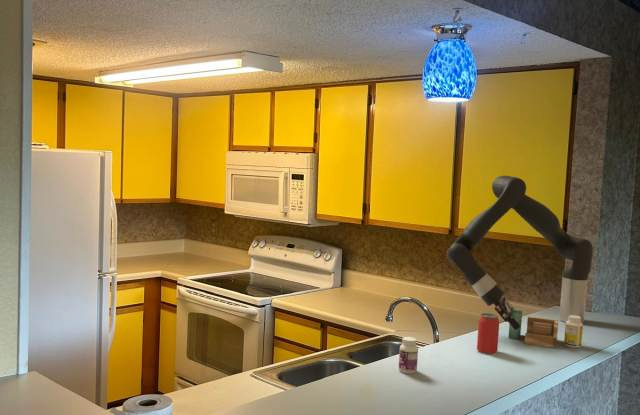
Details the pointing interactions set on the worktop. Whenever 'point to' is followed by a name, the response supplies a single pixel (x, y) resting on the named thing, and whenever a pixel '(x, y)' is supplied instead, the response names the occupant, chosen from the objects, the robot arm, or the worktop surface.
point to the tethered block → (537, 327)
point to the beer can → (488, 333)
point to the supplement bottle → (573, 332)
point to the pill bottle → (408, 355)
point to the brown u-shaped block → (541, 339)
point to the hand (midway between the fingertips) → (519, 325)
